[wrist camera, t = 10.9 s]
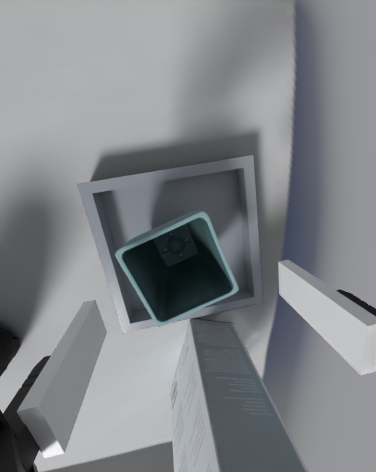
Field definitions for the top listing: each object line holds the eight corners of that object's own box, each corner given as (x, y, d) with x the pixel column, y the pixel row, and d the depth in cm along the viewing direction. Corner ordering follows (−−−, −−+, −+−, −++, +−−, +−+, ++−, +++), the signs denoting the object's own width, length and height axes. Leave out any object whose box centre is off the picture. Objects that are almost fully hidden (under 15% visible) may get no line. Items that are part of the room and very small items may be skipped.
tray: (89, 183, 25) (77, 183, 21) (241, 158, 26) (253, 154, 22) (127, 316, 30) (123, 333, 27) (252, 289, 31) (263, 302, 28)
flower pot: (129, 228, 26) (111, 252, 17) (192, 199, 26) (206, 209, 17) (159, 284, 28) (157, 329, 19) (217, 257, 28) (240, 291, 19)
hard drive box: (211, 395, 36) (265, 635, 17) (169, 392, 35) (176, 649, 16) (235, 321, 33) (336, 522, 13) (189, 316, 31) (229, 529, 12)
